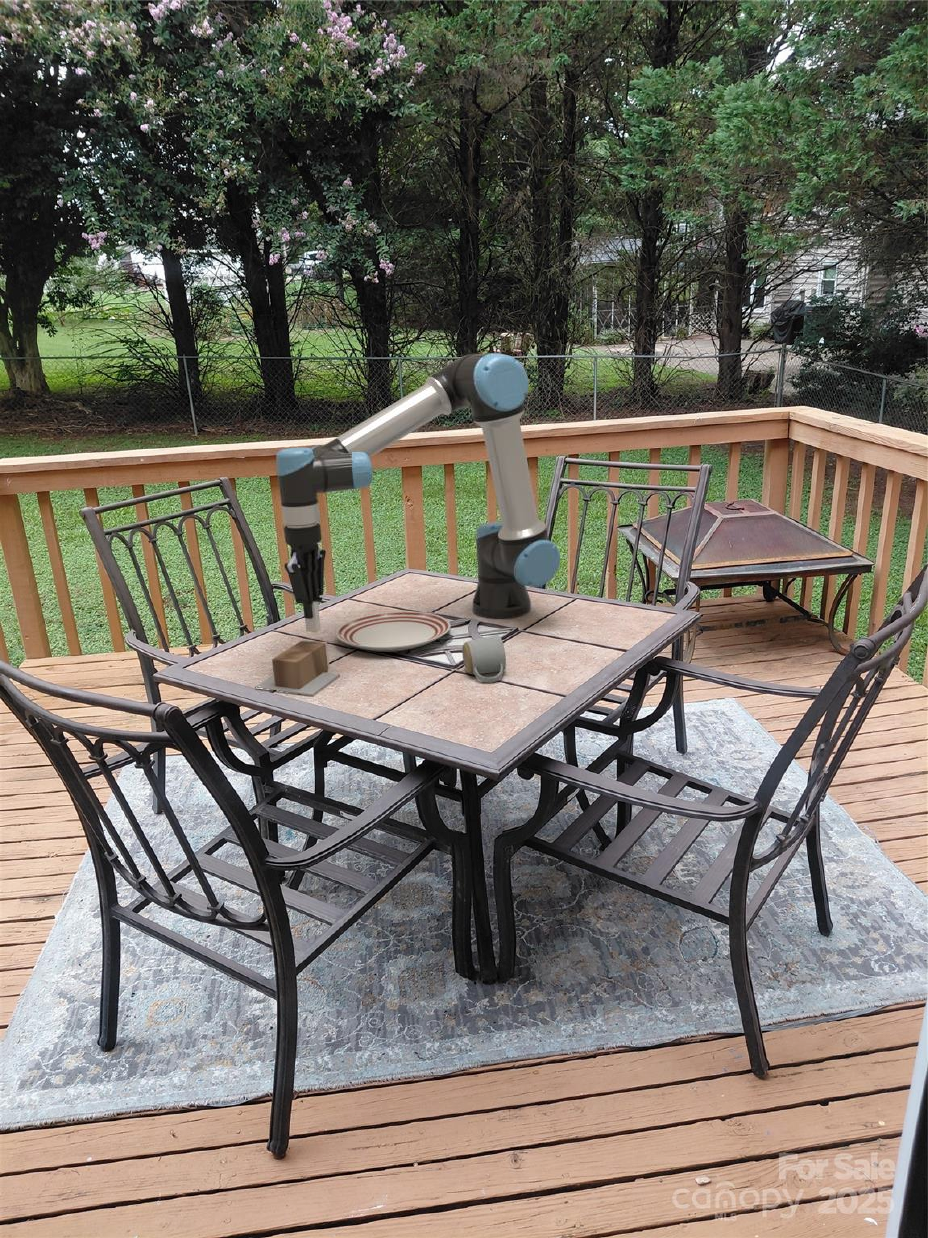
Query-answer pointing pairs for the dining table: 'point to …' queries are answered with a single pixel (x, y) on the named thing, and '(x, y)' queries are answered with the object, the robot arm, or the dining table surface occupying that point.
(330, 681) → the grey mat
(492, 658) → the ceramic mug
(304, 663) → the walnut block
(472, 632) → the dining table surface
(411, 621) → the dinner plate
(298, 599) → the robot arm
